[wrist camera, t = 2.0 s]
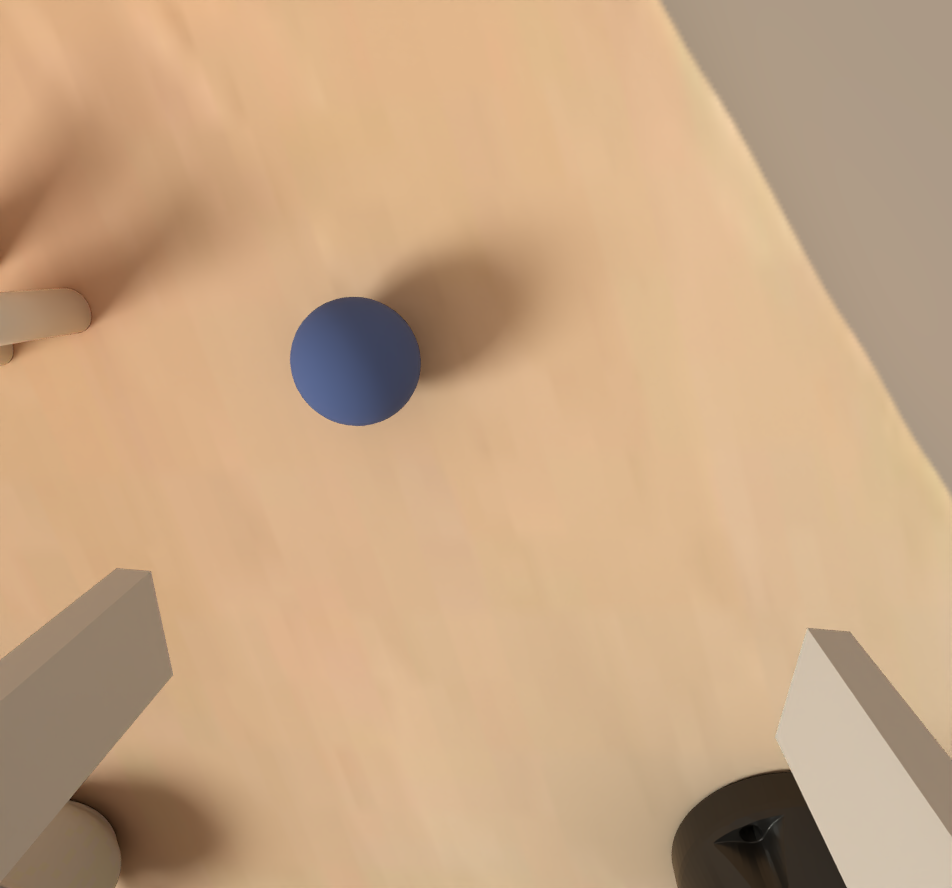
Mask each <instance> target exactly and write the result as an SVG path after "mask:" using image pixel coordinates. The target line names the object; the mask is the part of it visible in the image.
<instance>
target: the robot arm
mask: <svg viewBox="0 0 952 888" xmlns="http://www.w3.org/2000/svg"><path fill="white" fill-rule="evenodd" d="M172 675H173V672H172V667H171V663H170V658H169V653H168V649H167V644H166V639H165V635H164V630H163V625H162V621H161V616H160V611H159V607H158V602H157V597H156V593H155V588H154V583H153V579H152V574H151V571H143V570H132V569H120V568H116V569H115V570H114V571H112V572H111V573H110V574H109V575H107V576H106V577H105V578H104V579H102V580H101V581H100V582H98V583H97V584H96V585H95V586H93V587H92V588H91V589H90V590H88V591H87V592H86V593H84V594H83V595H82V596H81V597H79V598H78V599H77V600H76V601H74V602H73V603H72V604H71V605H69V606H68V607H67V608H65V609H64V610H63V611H62V612H60V613H59V614H58V615H57V616H55V617H54V618H53V619H51V620H50V621H49V622H48V623H46V624H45V625H44V626H43V627H41V628H40V629H39V630H38V631H36V632H35V633H34V634H32V635H31V636H30V637H29V638H27V639H26V640H25V641H24V642H22V643H21V644H20V645H18V646H17V647H16V648H15V649H13V650H12V651H11V652H10V653H8V654H7V655H6V656H5V657H3V658H2V659H1V660H0V882H1V881H2V880H3V879H4V878H5V876H6V875H7V874H8V873H9V872H10V870H11V869H12V868H13V867H14V865H15V864H16V863H17V862H18V861H19V859H20V858H21V857H22V856H23V855H24V853H25V852H26V851H27V850H28V849H29V847H30V846H31V845H32V844H33V843H34V841H35V840H36V839H37V838H38V837H39V835H40V834H41V833H42V832H43V831H44V829H45V828H46V827H47V826H48V825H49V823H50V822H51V821H52V820H53V819H54V817H55V816H56V815H57V814H58V813H59V811H60V810H61V809H62V808H63V807H64V805H65V804H66V803H67V802H68V801H69V799H70V798H71V797H72V796H73V795H74V793H75V792H76V791H77V790H78V788H79V787H80V786H81V785H82V784H83V782H84V781H85V780H86V779H87V778H88V776H89V775H90V774H91V773H92V772H93V770H94V769H95V768H96V767H97V766H98V764H99V763H100V762H101V761H102V760H103V758H104V757H105V756H106V755H107V754H108V752H109V751H110V750H111V749H112V748H113V746H114V745H115V744H116V743H117V742H118V740H119V739H120V738H121V737H122V736H123V734H124V733H125V732H126V731H127V730H128V728H129V727H130V726H131V725H132V724H133V722H134V721H135V720H136V719H137V718H138V716H139V715H140V714H141V713H142V711H143V710H144V709H145V708H146V707H147V705H148V704H149V703H150V702H151V701H152V699H153V698H154V697H155V696H156V695H157V693H158V692H159V691H160V690H161V689H162V687H163V686H164V685H165V684H166V683H167V681H168V680H169V679H170V678H171V677H172ZM775 738H776V740H777V742H778V744H779V746H780V748H781V751H782V753H783V755H784V757H785V759H786V761H787V763H788V765H789V767H790V769H791V772H789V773H775V774H767V775H762V776H757V777H753V778H749V779H745V780H742V781H739V782H736V783H733V784H731V785H729V786H726V787H724V788H722V789H720V790H718V791H716V792H715V793H713V794H711V795H710V796H708V797H707V798H705V799H704V800H702V801H701V802H700V803H699V804H698V805H696V806H695V807H694V808H693V809H692V810H691V811H690V812H689V813H688V815H687V816H686V817H685V818H684V820H683V821H682V823H681V824H680V826H679V828H678V830H677V832H676V835H675V837H674V841H673V846H672V864H673V869H674V873H675V878H676V882H677V887H678V888H952V760H951V758H950V757H949V756H948V755H947V753H946V752H945V751H944V749H943V748H942V747H941V746H940V744H939V743H938V742H937V741H936V739H935V738H934V737H933V736H932V734H931V733H930V732H929V731H928V729H927V728H926V727H925V726H924V724H923V723H922V722H921V721H920V719H919V718H918V717H917V716H916V714H915V713H914V712H913V710H912V709H911V708H910V707H909V705H908V704H907V703H906V702H905V700H904V699H903V698H902V697H901V695H900V694H899V693H898V692H897V690H896V689H895V688H894V687H893V685H892V684H891V683H890V682H889V680H888V679H887V678H886V676H885V675H884V674H883V673H882V671H881V670H880V669H879V668H878V666H877V665H876V664H875V663H874V661H873V660H872V659H871V658H870V656H869V655H868V654H867V653H866V651H865V650H864V649H863V648H862V646H861V645H860V644H859V643H858V641H857V640H856V639H855V637H854V636H853V635H852V634H851V632H847V631H836V630H824V629H813V628H807V630H806V634H805V637H804V640H803V644H802V647H801V651H800V654H799V657H798V661H797V664H796V668H795V671H794V674H793V678H792V681H791V685H790V688H789V691H788V695H787V698H786V702H785V705H784V708H783V712H782V715H781V718H780V722H779V725H778V729H777V732H776V735H775Z"/></svg>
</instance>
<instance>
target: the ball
mask: <svg viewBox="0 0 952 888" xmlns="http://www.w3.org/2000/svg"><path fill="white" fill-rule="evenodd" d="M290 364H291V371H292V376H293V379H294V382H295V385H296V387H297V389H298V391H299V392H300V394H301V396H302V397H303V398H304V400H305V401H306V402H307V403H308V404H309V405H310V406H311V407H312V408H313V409H314V410H315V411H316V412H318V413H319V414H320V415H322V416H324V417H325V418H327V419H329V420H331V421H334V422H337V423H340V424H345V425H353V426H364V425H370V424H374V423H378V422H381V421H383V420H385V419H387V418H389V417H391V416H392V415H394V414H395V413H397V412H398V411H399V410H400V409H401V408H402V407H404V405H405V404H406V403H407V402H408V401H409V399H410V397H411V396H412V394H413V392H414V390H415V388H416V386H417V383H418V380H419V375H420V365H421V359H420V351H419V347H418V343H417V341H416V338H415V336H414V334H413V332H412V330H411V328H410V327H409V326H408V324H407V323H406V322H405V320H404V319H403V318H402V317H401V316H400V315H399V314H397V313H396V312H395V311H394V310H392V309H391V308H389V307H388V306H386V305H384V304H382V303H380V302H378V301H375V300H372V299H368V298H362V297H345V298H340V299H335V300H333V301H330V302H327V303H325V304H323V305H321V306H320V307H318V308H317V309H315V310H314V311H313V312H311V313H310V314H309V315H308V317H307V318H306V319H305V320H304V321H303V322H302V324H301V325H300V326H299V328H298V330H297V332H296V334H295V337H294V340H293V343H292V347H291V354H290Z"/></svg>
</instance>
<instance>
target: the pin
mask: <svg viewBox="0 0 952 888" xmlns="http://www.w3.org/2000/svg"><path fill="white" fill-rule="evenodd" d="M12 356H13V345H12V344H8V345H2V346H0V366H1V365H5V364H7V363H8V362H9V361H10V360H11V359H12Z"/></svg>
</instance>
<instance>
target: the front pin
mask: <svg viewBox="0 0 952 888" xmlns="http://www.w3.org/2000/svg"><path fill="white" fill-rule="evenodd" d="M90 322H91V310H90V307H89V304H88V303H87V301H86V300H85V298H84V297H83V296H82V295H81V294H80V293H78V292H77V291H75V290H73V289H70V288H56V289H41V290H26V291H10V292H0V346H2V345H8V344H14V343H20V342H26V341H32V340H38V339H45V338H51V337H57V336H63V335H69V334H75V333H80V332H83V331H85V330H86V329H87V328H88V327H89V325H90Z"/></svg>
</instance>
